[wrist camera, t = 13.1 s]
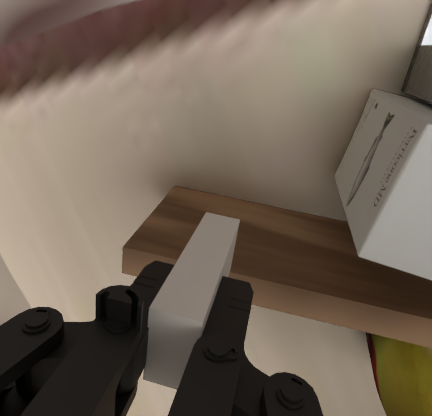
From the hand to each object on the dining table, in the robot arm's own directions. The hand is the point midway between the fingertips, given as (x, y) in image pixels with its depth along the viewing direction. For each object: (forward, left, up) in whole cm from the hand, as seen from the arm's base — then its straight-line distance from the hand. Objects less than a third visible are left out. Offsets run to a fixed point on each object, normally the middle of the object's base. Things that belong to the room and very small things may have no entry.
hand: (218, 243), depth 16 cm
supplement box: (+2, -11, -16) cm, 19 cm away
